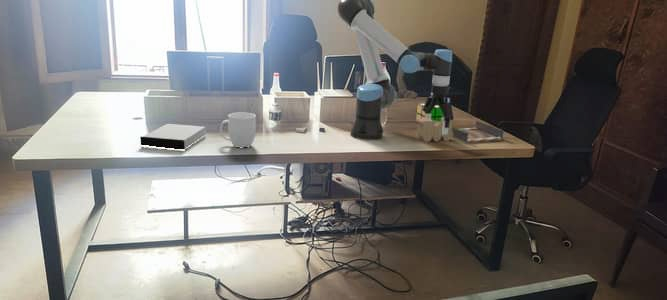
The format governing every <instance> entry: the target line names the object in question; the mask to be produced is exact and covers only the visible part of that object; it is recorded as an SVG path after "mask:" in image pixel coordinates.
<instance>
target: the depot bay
mask: <svg viewBox="0 0 667 300" xmlns="http://www.w3.org/2000/svg"><path fill="white" fill-rule="evenodd" d="M451 131H452V132H453V134H454V136H452V137H450V138H451V139H454V140H456V141H458V142H459V143H463V144H464V145H465V144H466V145H468V144H476V143H477V144H479V143H487V142H488V143H489V142H499V141H503V136H504V130H503V129H501V128H497V127H495V126H493V125H490V124H488V123H487V124H486V123H484V122H482V121H480V120H477V121H476V122H475V127H468V128H457V127H454V126H452V130H451Z"/></svg>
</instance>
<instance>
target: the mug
mask: <svg viewBox="0 0 667 300" xmlns="http://www.w3.org/2000/svg"><path fill="white" fill-rule="evenodd" d="M256 116H257V115H256V114H255V113H252V112H245V111H243V112H242V111H239V112H232V113H230V114H228V115H227V119H225V120H223V121H222V122H221V123H220V125H219V126H220V127H219V133H220V136H221V137H222V138H223V139H224V140H226V141H230V143H231V144H232V145H234V146H237V147H248V146H250V147H251V146H252V145H253V143H254V140H255V136H256V132H257V131H256V130H257V120H256V119H257V117H256ZM226 123H227V124H228V128H227V129H228V135H229V137H228V136H226V135H225V134H224V130H223V129H224V125H225V124H226ZM234 146H233V147H234ZM248 148H249V147H248Z"/></svg>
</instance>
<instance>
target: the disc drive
mask: <svg viewBox="0 0 667 300" xmlns="http://www.w3.org/2000/svg"><path fill="white" fill-rule="evenodd" d="M205 134H206V135H207V131H206V126H198V125H188V124H187V125H186V124H177V123H166V124H165V125H163V126H160V127H158V128H157V129H154V130H153V131H151V132H149V133H148V134H145V135H143V136H140V139H139V140H140V146H141V145H149V146H156V147H165V148H174V149H185V148H186V147H188V146H189V145H191V144H192V143H194V142H195V141H197V140H198V139H200V138H201V137H202V136H204V135H205Z"/></svg>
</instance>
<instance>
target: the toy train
mask: <svg viewBox="0 0 667 300" xmlns="http://www.w3.org/2000/svg"><path fill="white" fill-rule="evenodd" d="M443 120H444V117H443V118H441V123H440V122H438V121H436V120H434V121H433V120H431V119H429V118H418V119H417V122H416V123H417V130H416V134H417V135H418V138H420V139H421V140H422V141H423V142H426V143H429V142H431V141H432V140H433V141H434V142H439V141H440V140H443V141H445V142H448V141H449V140H450V138H451V137H452V136H454V134H453V132H452V131H451V130H452V127H453V125H452V124H451V123H452V120H450V123H449V128H448V134H446V135H442V128H443Z"/></svg>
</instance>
